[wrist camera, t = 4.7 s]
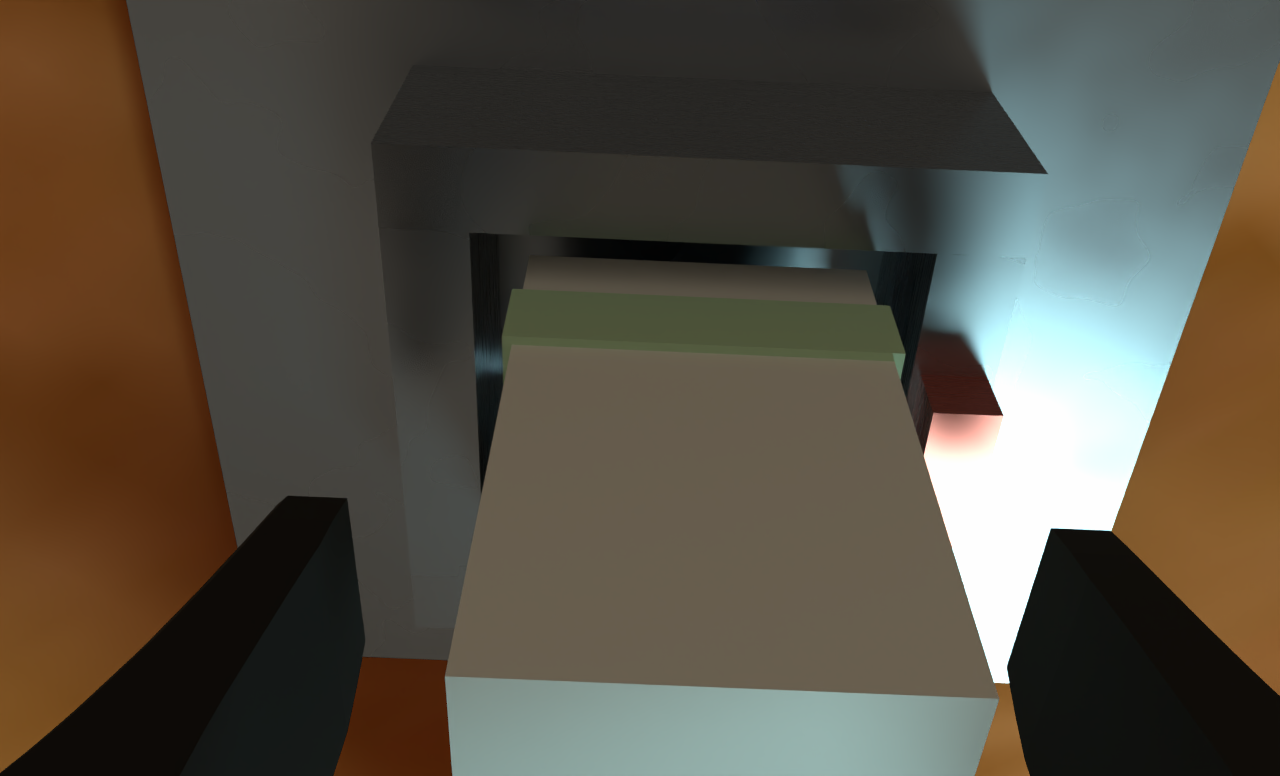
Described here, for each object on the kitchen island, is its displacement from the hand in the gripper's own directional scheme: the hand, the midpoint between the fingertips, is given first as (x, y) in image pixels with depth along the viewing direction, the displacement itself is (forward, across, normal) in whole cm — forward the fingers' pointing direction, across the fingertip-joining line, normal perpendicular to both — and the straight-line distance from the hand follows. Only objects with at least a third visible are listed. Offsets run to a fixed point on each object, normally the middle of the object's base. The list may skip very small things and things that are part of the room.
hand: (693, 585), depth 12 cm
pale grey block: (+3, 0, 0) cm, 3 cm away
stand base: (+6, 0, 0) cm, 6 cm away
